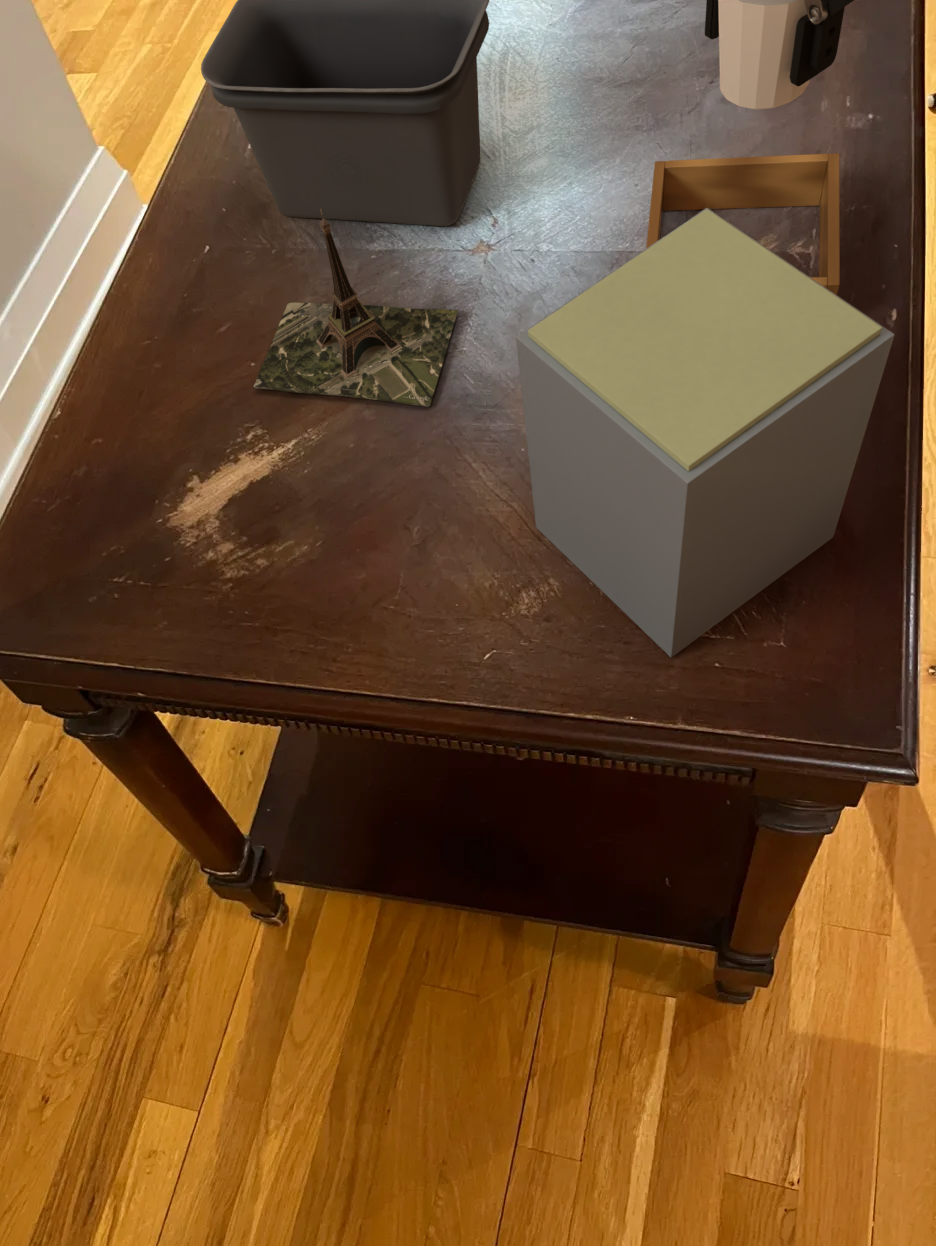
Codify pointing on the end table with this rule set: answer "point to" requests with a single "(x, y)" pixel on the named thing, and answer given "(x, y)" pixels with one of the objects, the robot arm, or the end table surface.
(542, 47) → the end table surface
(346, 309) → the eiffel tower figurine
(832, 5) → the robot arm
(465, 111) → the storage bin
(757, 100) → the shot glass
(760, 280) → the mat
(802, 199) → the wooden frame
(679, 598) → the block
